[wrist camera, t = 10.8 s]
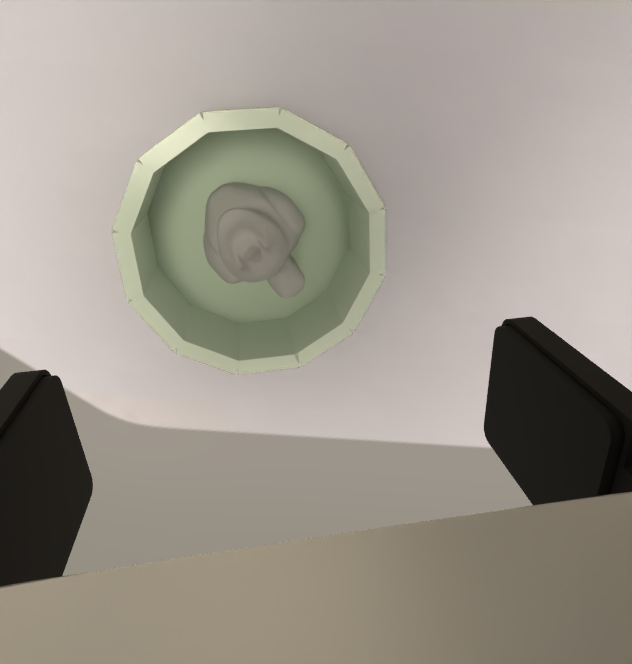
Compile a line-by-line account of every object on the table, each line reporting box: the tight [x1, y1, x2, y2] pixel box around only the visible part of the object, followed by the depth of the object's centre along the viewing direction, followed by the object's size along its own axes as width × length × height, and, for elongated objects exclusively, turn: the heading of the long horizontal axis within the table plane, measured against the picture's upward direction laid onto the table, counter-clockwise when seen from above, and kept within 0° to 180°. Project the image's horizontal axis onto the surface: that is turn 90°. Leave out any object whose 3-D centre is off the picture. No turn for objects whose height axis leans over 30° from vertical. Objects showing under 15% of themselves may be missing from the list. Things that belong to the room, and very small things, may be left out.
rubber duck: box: [203, 182, 305, 298], centre depth 25 cm, size 5×7×8 cm
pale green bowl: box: [112, 107, 386, 375], centre depth 27 cm, size 13×13×6 cm
